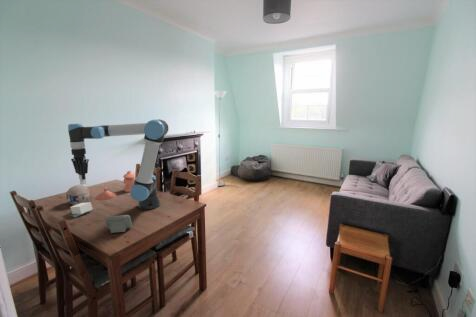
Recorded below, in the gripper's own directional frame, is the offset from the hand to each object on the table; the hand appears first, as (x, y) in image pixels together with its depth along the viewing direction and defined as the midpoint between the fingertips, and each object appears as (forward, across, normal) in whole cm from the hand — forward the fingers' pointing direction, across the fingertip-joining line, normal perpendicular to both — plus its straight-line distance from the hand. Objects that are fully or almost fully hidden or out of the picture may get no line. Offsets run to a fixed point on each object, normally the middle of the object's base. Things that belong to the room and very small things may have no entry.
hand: (83, 183), depth 152 cm
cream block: (+17, +2, -1) cm, 18 cm away
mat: (+22, +11, -1) cm, 25 cm away
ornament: (+22, +24, -12) cm, 35 cm away
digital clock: (+23, -35, +8) cm, 43 cm away
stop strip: (+22, +5, -1) cm, 23 cm away
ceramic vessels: (+23, +13, -35) cm, 44 cm away
